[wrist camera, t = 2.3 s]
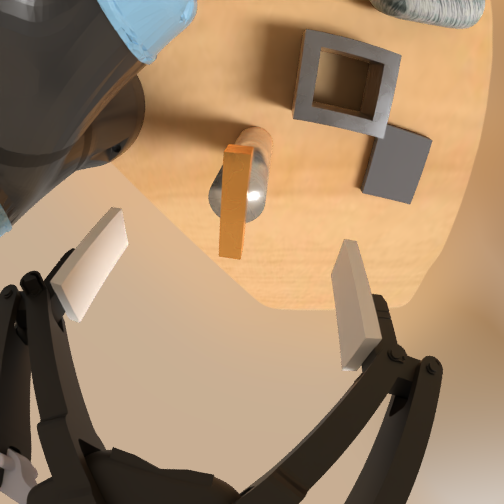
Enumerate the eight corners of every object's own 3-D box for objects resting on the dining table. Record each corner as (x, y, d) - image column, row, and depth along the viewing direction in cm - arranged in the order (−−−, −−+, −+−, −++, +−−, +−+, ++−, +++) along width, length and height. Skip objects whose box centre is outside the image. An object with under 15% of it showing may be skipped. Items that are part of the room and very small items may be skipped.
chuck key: (235, 172, 33) (203, 254, 21) (240, 108, 28) (203, 149, 16) (268, 176, 33) (256, 261, 21) (277, 112, 28) (271, 157, 16)
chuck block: (291, 110, 27) (292, 118, 23) (302, 34, 22) (306, 29, 18) (369, 127, 27) (383, 138, 23) (384, 55, 22) (401, 55, 18)
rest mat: (360, 189, 32) (362, 193, 31) (379, 121, 27) (381, 123, 26) (407, 200, 32) (410, 204, 31) (428, 138, 26) (432, 140, 26)
